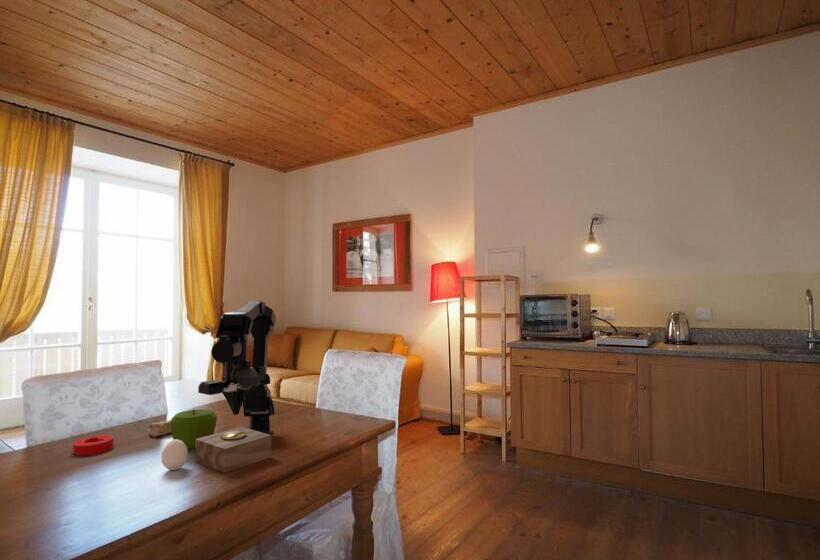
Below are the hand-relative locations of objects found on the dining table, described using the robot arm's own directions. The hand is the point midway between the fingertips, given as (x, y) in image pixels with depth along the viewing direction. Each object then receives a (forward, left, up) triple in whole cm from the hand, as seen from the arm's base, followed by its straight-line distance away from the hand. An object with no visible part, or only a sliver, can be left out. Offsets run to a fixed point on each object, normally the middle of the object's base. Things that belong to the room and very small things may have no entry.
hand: (236, 414), depth 124 cm
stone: (-41, +1, -12) cm, 43 cm away
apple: (-19, -2, -12) cm, 23 cm away
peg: (0, -1, -12) cm, 12 cm away
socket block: (0, -1, -12) cm, 12 cm away
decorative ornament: (-42, -20, -12) cm, 48 cm away
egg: (-6, -14, -12) cm, 19 cm away
